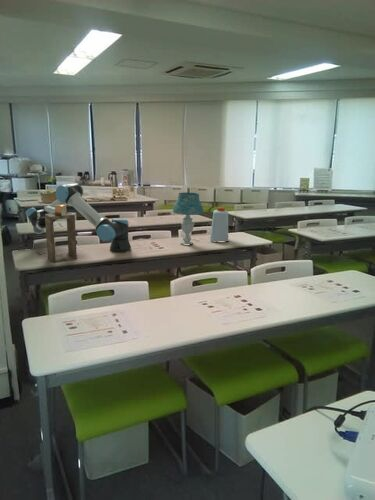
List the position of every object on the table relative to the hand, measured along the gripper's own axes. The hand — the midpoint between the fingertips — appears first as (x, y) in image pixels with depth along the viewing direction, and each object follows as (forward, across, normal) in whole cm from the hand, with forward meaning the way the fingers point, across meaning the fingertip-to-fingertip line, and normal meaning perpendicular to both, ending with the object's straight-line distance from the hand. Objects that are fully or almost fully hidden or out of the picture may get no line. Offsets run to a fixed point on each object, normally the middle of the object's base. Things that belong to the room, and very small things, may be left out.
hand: (49, 213), depth 254 cm
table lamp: (+14, -96, -40) cm, 105 cm away
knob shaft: (+14, +1, -5) cm, 15 cm away
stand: (+4, 0, -34) cm, 34 cm away
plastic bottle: (+18, -126, -42) cm, 134 cm away
